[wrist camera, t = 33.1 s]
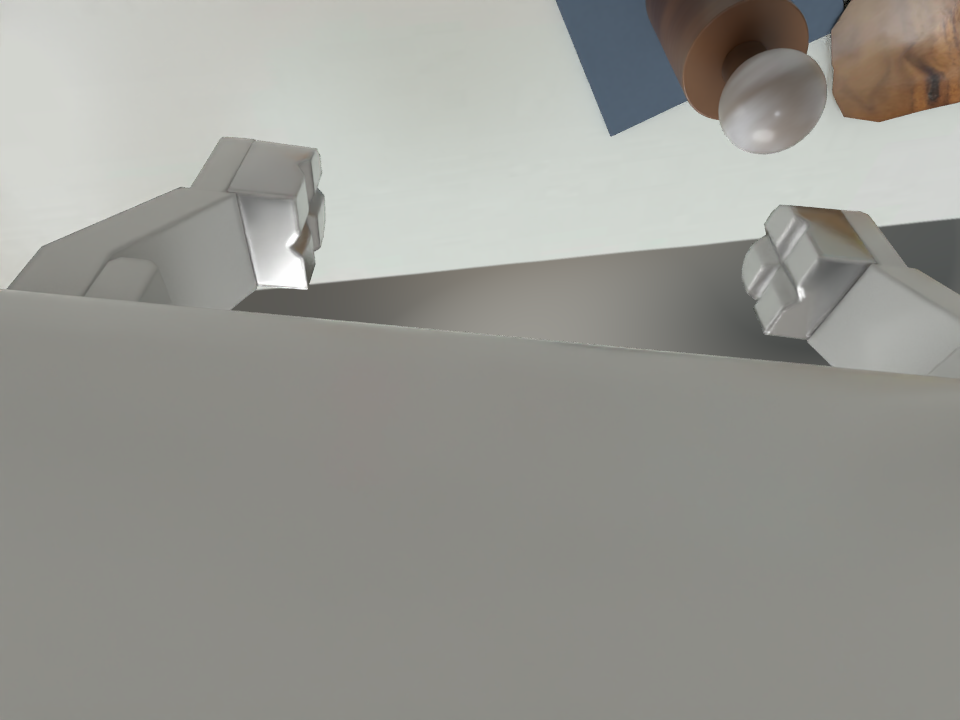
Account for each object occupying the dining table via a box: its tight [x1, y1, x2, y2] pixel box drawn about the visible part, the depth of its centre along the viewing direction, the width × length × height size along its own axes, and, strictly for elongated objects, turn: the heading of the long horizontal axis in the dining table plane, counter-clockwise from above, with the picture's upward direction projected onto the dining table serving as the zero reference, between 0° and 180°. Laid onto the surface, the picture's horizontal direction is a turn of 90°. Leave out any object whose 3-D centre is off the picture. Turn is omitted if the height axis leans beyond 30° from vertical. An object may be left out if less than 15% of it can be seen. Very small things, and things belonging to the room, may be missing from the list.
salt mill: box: [646, 0, 827, 154], centre depth 31 cm, size 6×15×15 cm
